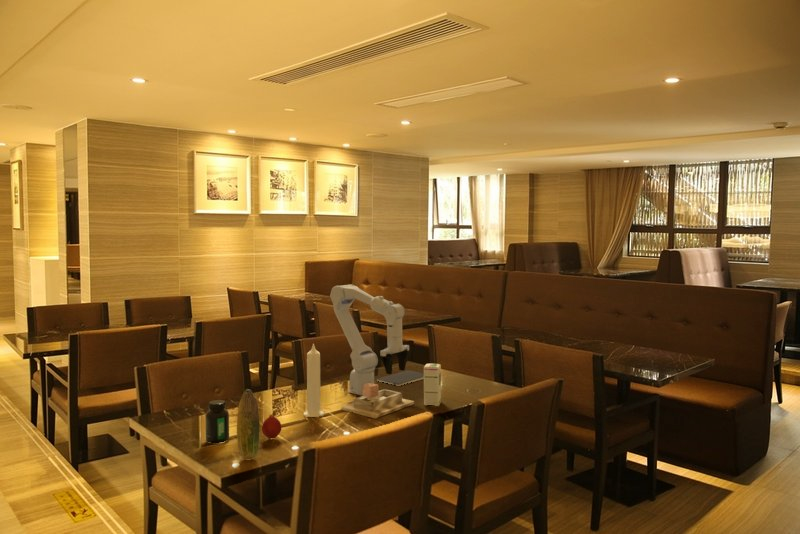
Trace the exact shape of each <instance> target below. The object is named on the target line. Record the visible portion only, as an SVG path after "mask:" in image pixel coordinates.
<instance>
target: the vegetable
mask: <svg viewBox="0 0 800 534" xmlns="http://www.w3.org/2000/svg"><path fill="white" fill-rule="evenodd" d="M260 425H261V424H260V413H259V404H258V400H257V398H256V396H255V395H254V393H253V391H252V390H251V389H250V388H249V389H248V388H246V389H245V390H244V391H243V394H242V395H241V398H240V400H239V404H238V411H237V417H236V436H237V437H236V438H237V447H238V452H239V454H240V456H241V458H242V459H244V460H245V459H252V458H253V459H255V458H256V456H257V455H258V452H259V446H260V428H261V427H260ZM254 457H255V458H254ZM253 459H252V460H253Z"/></svg>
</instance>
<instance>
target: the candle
mask: <svg viewBox="0 0 800 534" xmlns="http://www.w3.org/2000/svg"><path fill="white" fill-rule="evenodd" d="M306 387H307V388H306V395H307V396H306V397H307V399H306V400H307V402H306V403H307V405H306V406H307V407H306V408H307V409H306V410H305V411H304V412H303V417H305V416H307V417H318V418H320V417H319V416H322V417H323V416H325V411H324V410H321V353H320V351H318V350H317V349H316V346H315V343H312V346H311V349H310V350H309V351H308V352H307V353H306ZM307 417H306V418H307Z"/></svg>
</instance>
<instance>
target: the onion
mask: <svg viewBox="0 0 800 534" xmlns="http://www.w3.org/2000/svg"><path fill="white" fill-rule="evenodd" d="M281 431H282V424H281V421H280V420H279V419H278V418H277V417H276V416H275V415H274V414H272V413H271V414H269V415H268V417H267V418H265V420H264V421H263V423H262V426H261V433H262V434H263V435H264V436H265V437H266V438H268V439H269V438H274V439H276V438H277V437H278V436H279V435H280V434H281Z"/></svg>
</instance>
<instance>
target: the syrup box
mask: <svg viewBox="0 0 800 534" xmlns="http://www.w3.org/2000/svg"><path fill="white" fill-rule="evenodd" d="M423 373H424V379H423V406H427V405H435V406H434V407H440V405H441V402H442V364H440V363H425V365H424V366H423Z"/></svg>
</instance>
